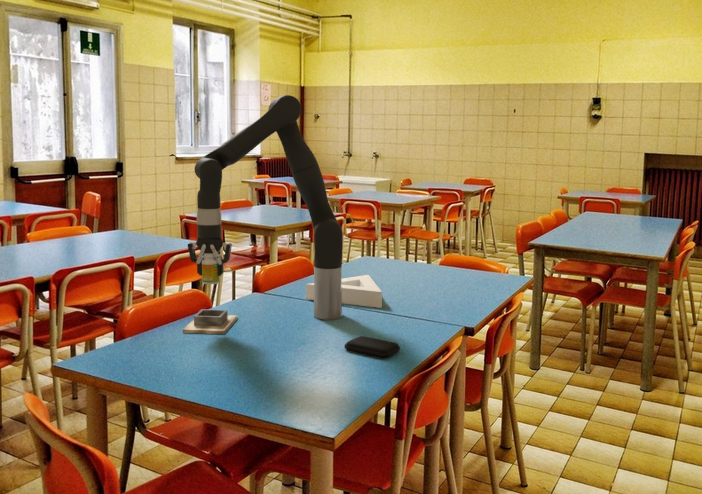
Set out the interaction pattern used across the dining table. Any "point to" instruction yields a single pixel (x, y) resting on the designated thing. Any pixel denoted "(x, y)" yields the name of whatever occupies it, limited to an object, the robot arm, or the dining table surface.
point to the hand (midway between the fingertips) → (210, 275)
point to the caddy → (211, 322)
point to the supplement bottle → (209, 269)
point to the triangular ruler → (355, 291)
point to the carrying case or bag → (372, 347)
